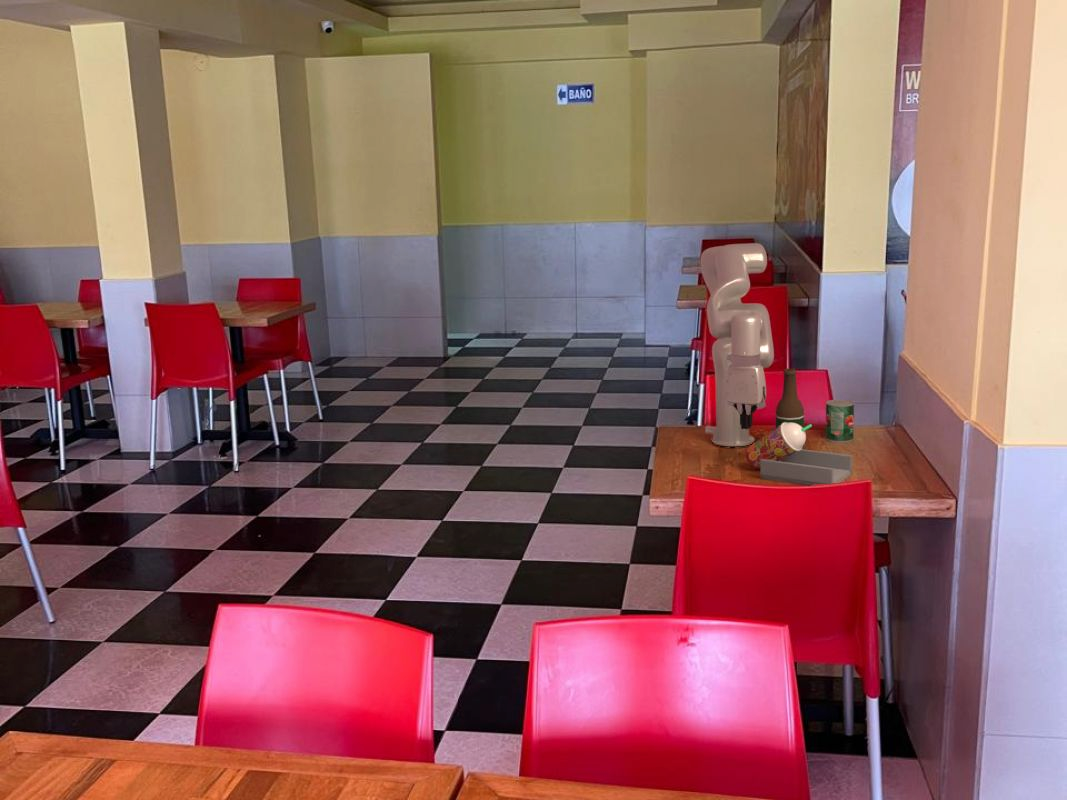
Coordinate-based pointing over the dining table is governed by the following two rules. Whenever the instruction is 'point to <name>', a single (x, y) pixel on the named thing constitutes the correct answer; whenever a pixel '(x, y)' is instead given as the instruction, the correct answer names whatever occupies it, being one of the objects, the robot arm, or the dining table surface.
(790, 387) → the beer bottle
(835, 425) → the canned tomato
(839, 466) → the cradle
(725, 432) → the robot arm
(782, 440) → the smoothie
